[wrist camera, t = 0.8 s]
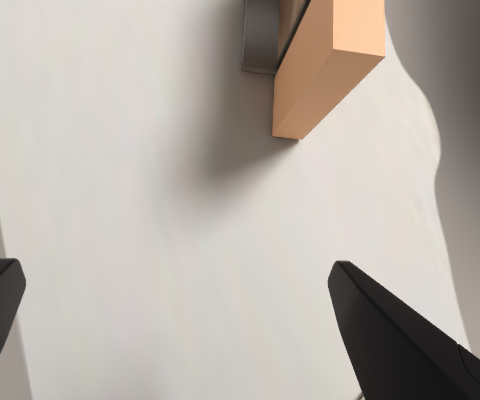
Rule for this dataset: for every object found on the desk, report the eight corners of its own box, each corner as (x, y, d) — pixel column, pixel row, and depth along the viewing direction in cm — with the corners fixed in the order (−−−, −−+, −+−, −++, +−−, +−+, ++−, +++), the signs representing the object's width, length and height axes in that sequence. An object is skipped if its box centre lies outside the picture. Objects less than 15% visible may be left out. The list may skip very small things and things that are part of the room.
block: (302, 139, 25) (385, 56, 14) (272, 136, 24) (332, 48, 13) (303, 82, 25) (383, -39, 15) (274, 78, 25) (333, -49, 14)
